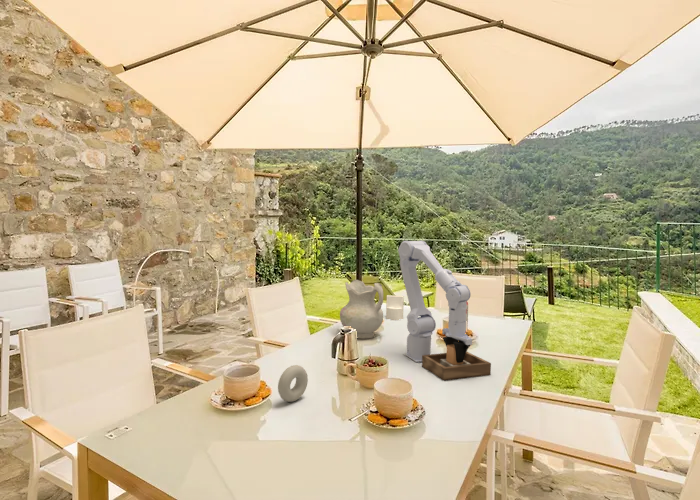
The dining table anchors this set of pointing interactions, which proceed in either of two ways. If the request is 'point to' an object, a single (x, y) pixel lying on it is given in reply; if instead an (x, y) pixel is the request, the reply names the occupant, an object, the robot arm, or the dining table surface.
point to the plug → (452, 355)
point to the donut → (286, 381)
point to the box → (456, 366)
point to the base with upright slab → (394, 307)
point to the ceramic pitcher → (363, 309)
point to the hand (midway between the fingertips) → (455, 360)
